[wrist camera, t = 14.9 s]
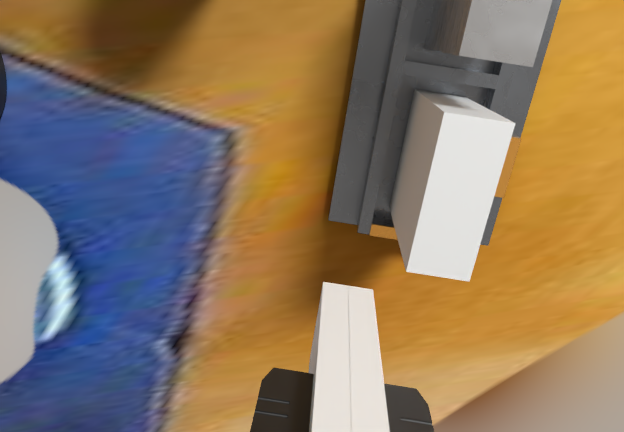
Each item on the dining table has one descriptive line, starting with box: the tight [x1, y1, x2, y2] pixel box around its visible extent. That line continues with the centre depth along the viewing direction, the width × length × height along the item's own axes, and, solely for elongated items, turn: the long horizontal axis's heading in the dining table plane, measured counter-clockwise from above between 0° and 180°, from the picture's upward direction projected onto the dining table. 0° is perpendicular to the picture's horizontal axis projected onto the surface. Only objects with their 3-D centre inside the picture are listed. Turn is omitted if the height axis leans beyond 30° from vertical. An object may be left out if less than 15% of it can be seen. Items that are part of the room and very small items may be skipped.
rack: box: [329, 0, 561, 245], centre depth 33 cm, size 14×27×13 cm, turn 172°
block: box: [389, 89, 515, 281], centre depth 35 cm, size 4×10×12 cm, turn 172°
